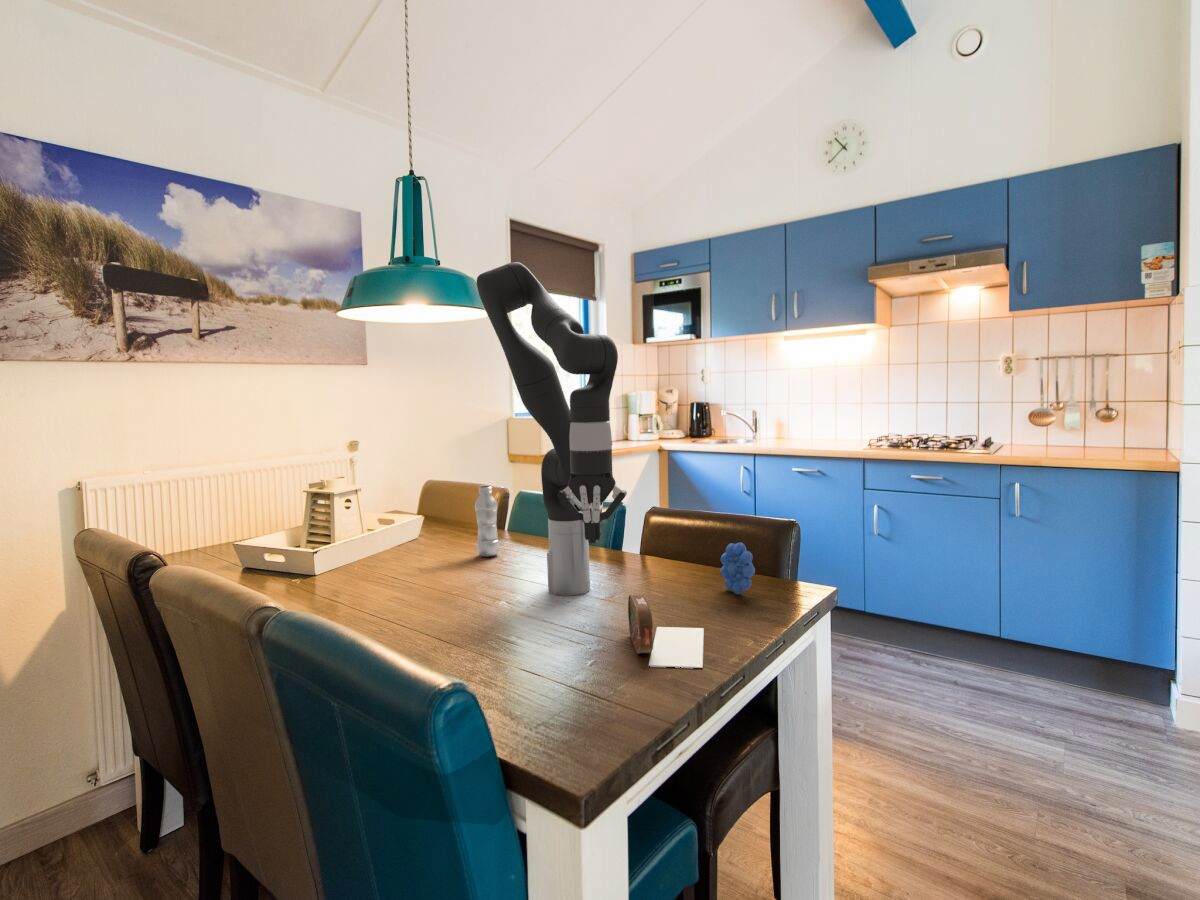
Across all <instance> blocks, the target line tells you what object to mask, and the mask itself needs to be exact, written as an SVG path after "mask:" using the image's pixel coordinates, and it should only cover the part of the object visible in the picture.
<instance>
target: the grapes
mask: <svg viewBox="0 0 1200 900" xmlns="http://www.w3.org/2000/svg"><path fill="white" fill-rule="evenodd" d="M753 560H754V559H753V553H751V551H749V550H747V547H746V545H745V544H744V543H743V542H737V543H734V542H732V543H728V545H727V546H726V548H725V552H724V553H723V554H722V555H721V557H720V562H721V564H723V565H722V567H721V568H720V572H719V573H720V575H721V577H723V578H724V579H725V580H724V587H725V588H726V589H727V590H729V591H732V592H733V593H734V594H735V595H741V594H742V593H743V592H744V591H747V590H749V589H750V588H751V586H752V583H753V582H752V579H751V578H753V576H754V575H755V573H756V569H755V567H754V564H753V562H752V561H753Z"/></svg>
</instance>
